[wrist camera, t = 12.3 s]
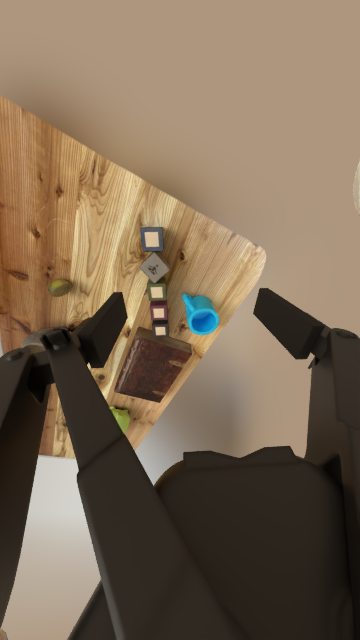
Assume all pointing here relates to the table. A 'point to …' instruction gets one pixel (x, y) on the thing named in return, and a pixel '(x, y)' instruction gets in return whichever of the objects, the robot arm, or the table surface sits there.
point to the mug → (200, 314)
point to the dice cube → (155, 266)
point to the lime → (59, 287)
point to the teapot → (121, 418)
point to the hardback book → (152, 366)
